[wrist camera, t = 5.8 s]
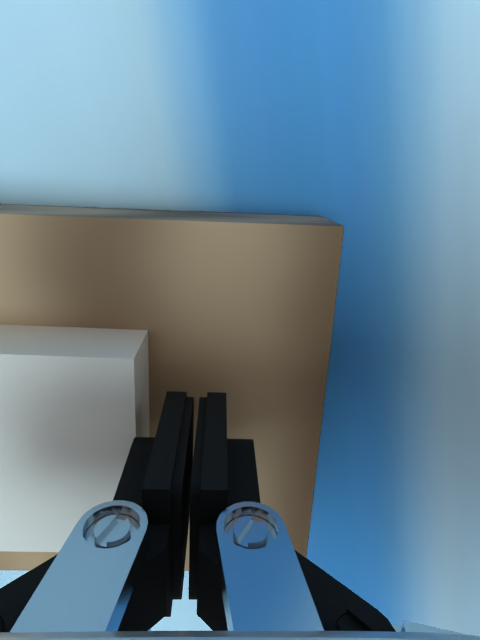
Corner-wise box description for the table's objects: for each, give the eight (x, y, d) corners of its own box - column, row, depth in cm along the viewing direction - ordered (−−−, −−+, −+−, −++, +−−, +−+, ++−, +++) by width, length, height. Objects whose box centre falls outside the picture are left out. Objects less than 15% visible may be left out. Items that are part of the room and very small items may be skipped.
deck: (320, 216, 14) (344, 226, 11) (292, 508, 18) (304, 570, 15) (-52, 202, 14) (-125, 209, 11) (0, 506, 18) (-44, 570, 15)
